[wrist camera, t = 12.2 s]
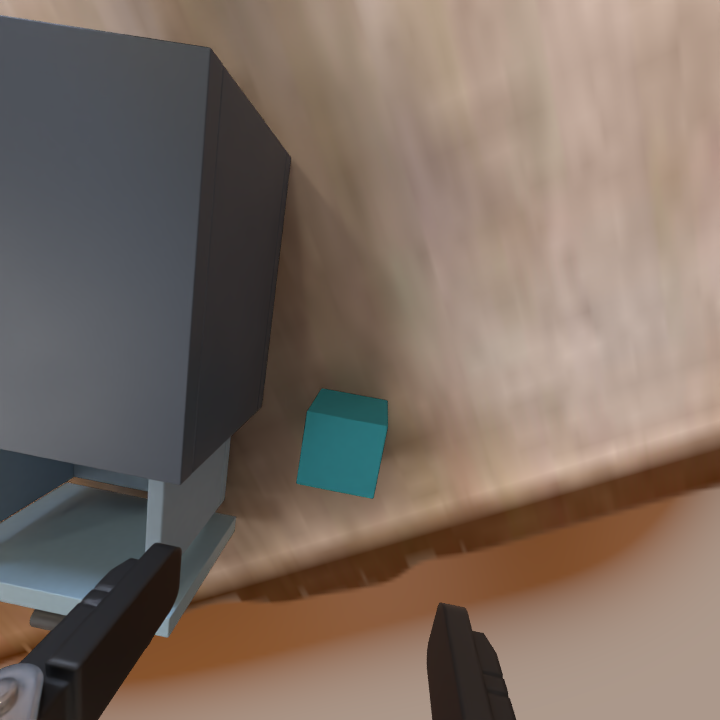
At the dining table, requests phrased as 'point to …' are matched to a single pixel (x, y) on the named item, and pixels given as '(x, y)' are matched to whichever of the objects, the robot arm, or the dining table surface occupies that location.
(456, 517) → the dining table surface
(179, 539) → the drawer
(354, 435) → the teal cube block
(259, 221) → the cabinet
